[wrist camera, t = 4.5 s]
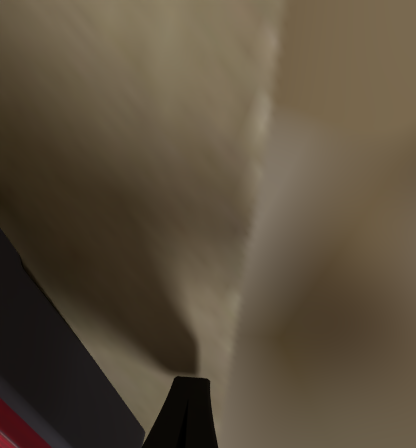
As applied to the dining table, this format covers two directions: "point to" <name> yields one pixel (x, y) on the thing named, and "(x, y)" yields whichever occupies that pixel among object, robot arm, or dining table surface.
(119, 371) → the dining table surface
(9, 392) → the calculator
